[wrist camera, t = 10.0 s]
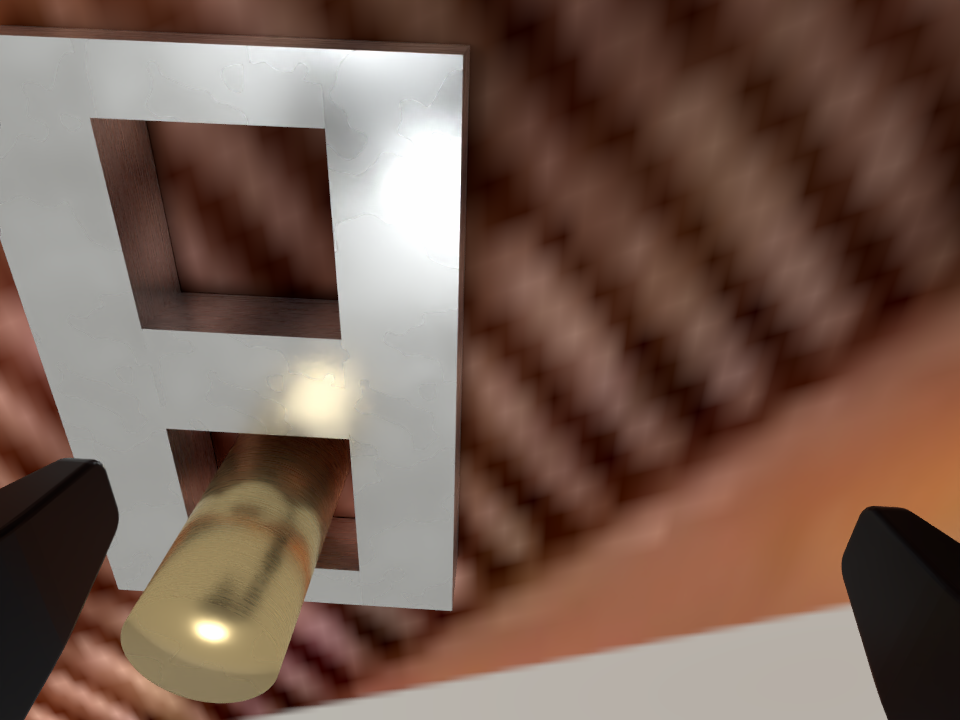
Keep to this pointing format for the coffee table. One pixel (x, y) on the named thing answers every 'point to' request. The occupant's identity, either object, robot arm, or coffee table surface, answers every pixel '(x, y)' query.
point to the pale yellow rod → (238, 570)
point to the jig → (238, 318)
